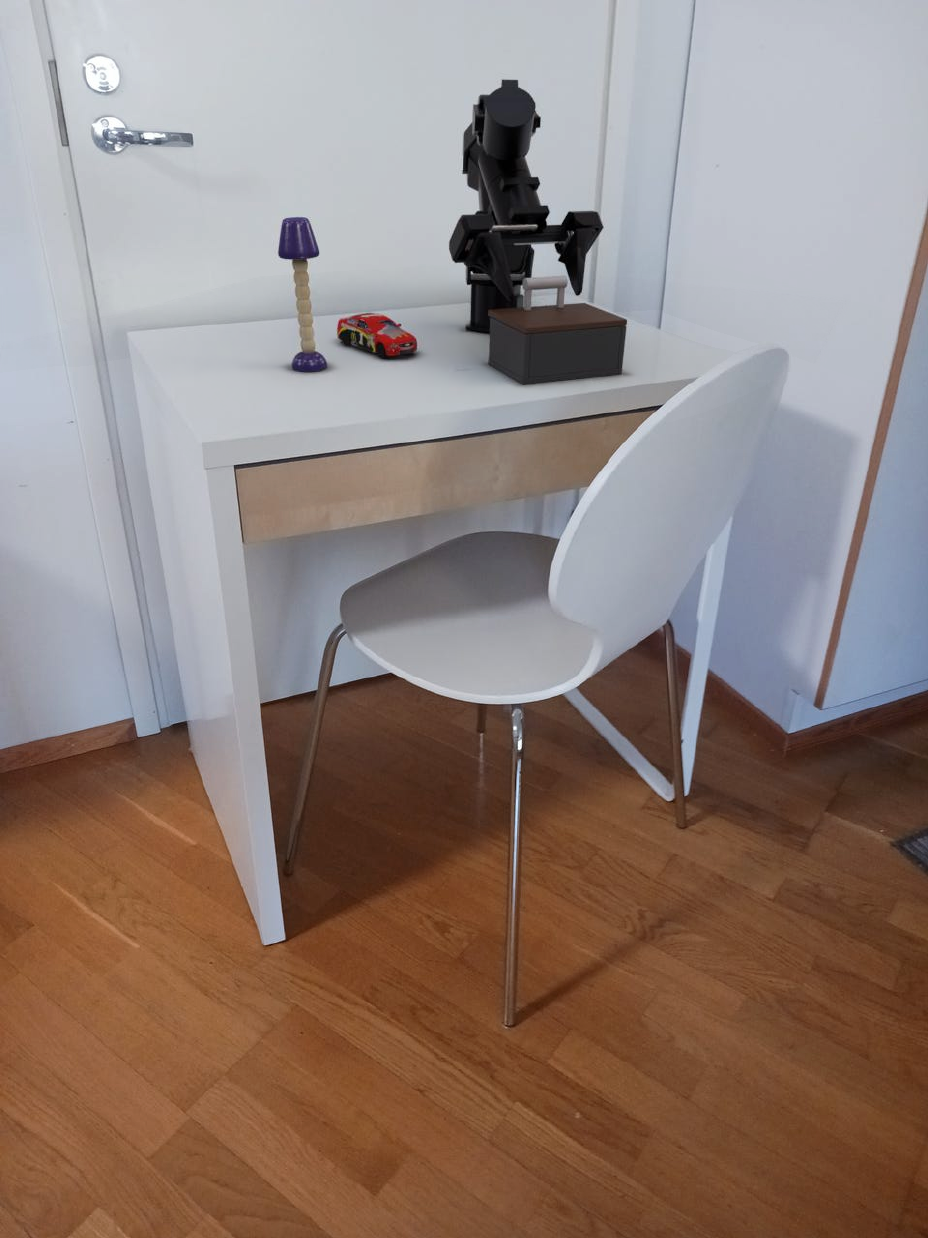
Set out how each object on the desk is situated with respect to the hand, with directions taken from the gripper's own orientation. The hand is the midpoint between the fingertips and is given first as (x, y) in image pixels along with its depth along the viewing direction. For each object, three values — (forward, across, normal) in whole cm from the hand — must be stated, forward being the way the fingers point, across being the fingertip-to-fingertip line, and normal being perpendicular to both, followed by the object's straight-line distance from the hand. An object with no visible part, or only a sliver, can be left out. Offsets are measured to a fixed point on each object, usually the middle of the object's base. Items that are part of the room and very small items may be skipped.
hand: (545, 295), depth 115 cm
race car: (-4, +17, -15) cm, 23 cm away
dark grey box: (+8, 0, -4) cm, 9 cm away
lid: (+4, 0, 0) cm, 4 cm away
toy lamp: (0, +28, -11) cm, 30 cm away
